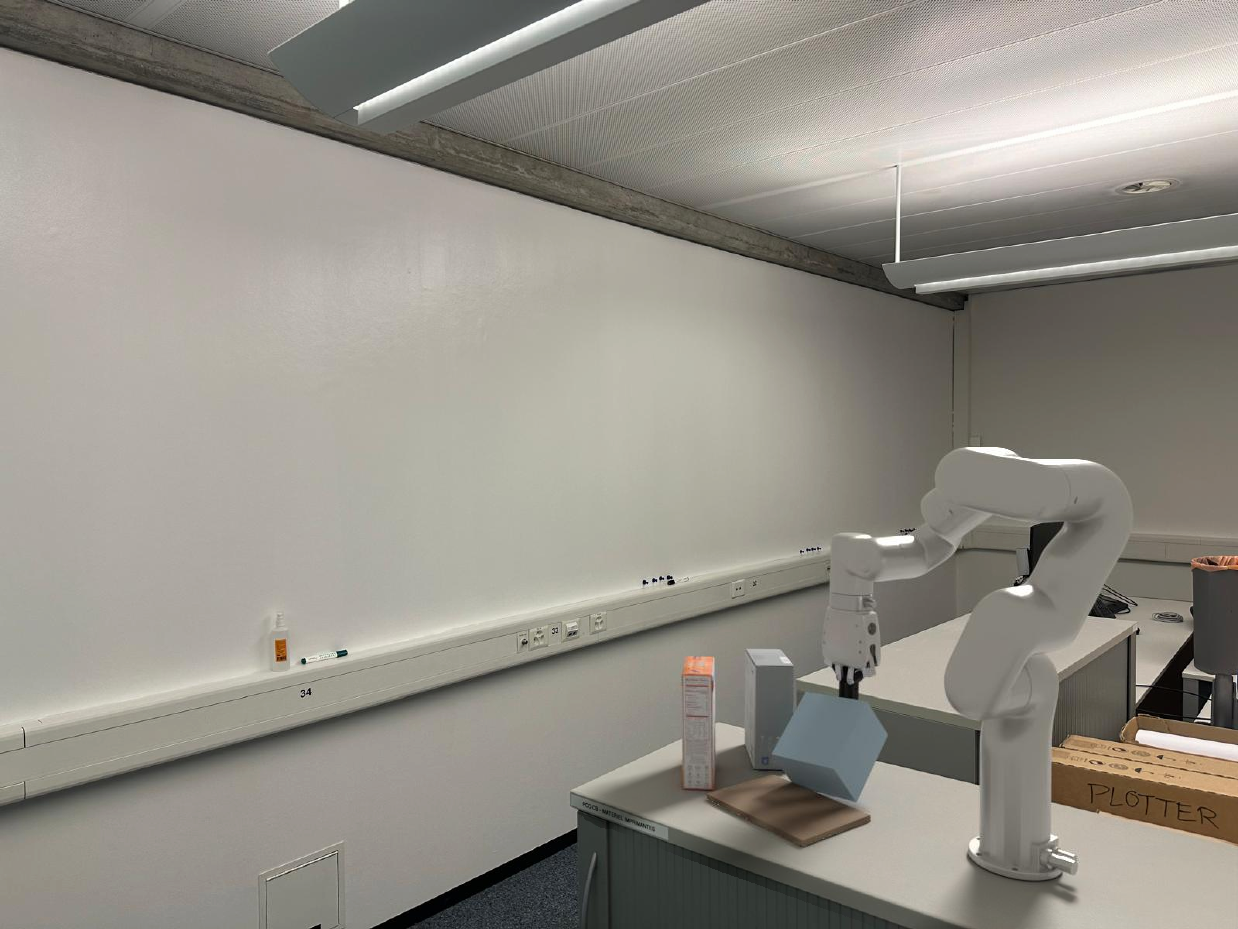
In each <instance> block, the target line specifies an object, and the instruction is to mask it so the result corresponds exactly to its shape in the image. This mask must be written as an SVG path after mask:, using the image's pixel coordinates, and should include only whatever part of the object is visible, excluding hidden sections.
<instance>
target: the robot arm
mask: <svg viewBox="0 0 1238 929" xmlns="http://www.w3.org/2000/svg"><path fill="white" fill-rule="evenodd" d="M934 484H935V487H934V488H932V489H930V490H929V491H928V492H927V493H926V494H925V495H924V496H923V497H922V499H921V501H920V512H921V516H922V518H923V520H924V521H925V522H923V524H920V526H918V527H917V528H915V529H914V530H913V531H911V532H910V533H908V534H906V535H889V536H888V535H887V536H886V535H885V536H879V537H878V536H877V537H872V536H871V535H869V534H865V533H860V532H840V533H835V534H834V535H833V536H832V537H831V540H830V561H829V562H830V564H829V568H830V569H829V600H828V601H829V604H828V606H827V608H826V611H825V616H824V623H823V629H822V640H821V649H822V650H821V651H822V656H823V663H824V664H825V665H826V666H827V667H829V668H831V669H832V671H833V672H834V673H835V679H836V681H838V697H842V698H848V699H854V700H859V696H860V695H859V693H860V690H859V689H860V683H861V682H863V680H864V679H865V678H873V677H876V676H877V671H876V668H877V667H878V666H880V665H881V659H882V657H881V655H882V654H881V653H882V652H881V647H882V646H881V644H882V643H881V633H880V632H881V631H880V623H879V618H878V613H877V611H876V612H875V611H874V610H873V609H875V608H876V607H877V605H878V603H877V602H878V601H877V600H875V599H874V583H877V582H878V583H880V582H882V583H883V582H887V581H889V582H890V581H896V580H908V579H914V578H917V577H918V578H919V577H921V576H924V575H926V574H927V573H929V572H930V571H932V570H933V569H935V568H936V567H938V566H940V565H941V564H942V563H944V562H945V561H947V560H949V558H951V557H952V556H953V555H954V553H955V552H956V551H957V549H958V547H959V546H960V544H961V541H962V539H963V537H964V536H965V535H966V534H968V533H970V532H971V531H972V530H973V529H975V528H976V527H977V526H979V525H981V524H982V523H983V522H985V521H986V520H987V519H989V518H991V517H992V516H998V517H1001V518H1005V519H1010V520H1015V521H1019V522H1023V523H1034V524H1035V523H1036V524H1041V523H1042V524H1043V523H1055V522H1056V523H1057V522H1059V523H1060V522H1063V525H1062V527H1061V529H1060V530H1059V531H1058V532H1057V533H1056V535H1055V536H1054V537H1053V538H1052V539H1051V540H1050V542H1049V543H1047V545H1046V547H1044V549H1043V551H1042V552H1041V554H1040V556H1039V559H1038V561H1037V563H1036V565H1035V567H1034V569H1033V571H1032V572H1031V574H1030V576H1029V577H1028V578H1027V579H1026V581H1025V582H1024V583H1023V584H1020V585H1018V586H1011V587H1010V586H1009V587H1005V588H1000V589H996V590H994V591H992V592H989V593H988V594H987V595H985V596H984V597H983V598H982V599H981V600H980V601H979V602H978V603H977V604H976V605H975V606H974V608H973V610H972V612H971V613H970V616H969V618H968V619H967V621H966V624H965V625H964V628H963V630H962V632H961V634H960V637H959V638H958V641H957V643H956V644H955V647H954V649H953V651H952V653H951V655H950V657H949V659H948V661H947V664H946V667H945V672H944V677H943V688H944V692H945V697H946V699H947V701H948V703H949V705H950V707H952V709H953V710H954V711H955V712H957V713H958V714H959V715H960V716H962V717H963V718H967V719H969V720H975V721H980V722H981V721H982V723H981V728H980V733H979V734H980V737H979V835H978V836H976V837H973V838H972V839H971V840H969V841H968V845H967V853H968V856H969V857H970V858H971V859H972V861H973V862H974V863H975V864H976V865H979V866H980V867H981V868H983V869H984V870H985V869H986V870H987V871H989V872H991V873H995V874H997V875H1000V876H1002V877H1003V876H1004V877H1006V878H1010V879H1011V878H1012V879H1016V880H1024V881H1046V880H1047V881H1048V880H1051V879H1054V878H1057V877H1058V876H1060V875H1061V874H1062V873H1065V874H1069V875H1071V876H1075V875H1076V874H1077V872H1078V868H1079V865H1078V856H1077V855H1076V854H1075V853H1071V852H1068V851H1064V850H1061V847H1059V837H1058V836H1056V835H1053V834H1052V759H1053V758H1052V746H1053V744H1052V743H1053V741H1052V740H1053V727H1054V726H1053V725H1054V719H1055V712H1056V709H1057V703H1058V698H1059V690H1060V680H1059V675H1058V674H1059V673H1058V671H1057V669H1056V666H1055V663H1054V662H1053V661H1052V659H1051V658H1050V657H1049V656H1048V655H1047V654H1048V653H1053V652H1057V651H1061V650H1063V649H1066V648H1067V647H1069V646H1070V645H1072V643H1073V642H1074V641H1075V640H1076V638H1077V637H1078V635H1079V633H1080V631H1081V629H1082V627H1083V625H1084V624H1085V622H1086V620H1087V618H1088V617H1089V614H1090V612H1091V610H1092V609H1093V607H1094V606H1095V605H1094V604H1096V601H1097V599H1098V597H1099V595H1100V593H1101V592H1102V590H1103V587H1104V585H1105V584H1106V581H1107V580H1108V577H1109V576H1110V574H1111V572H1112V571H1113V569H1114V567H1115V565H1116V564H1117V563H1118V561H1119V558H1121V555H1122V553H1123V551H1124V550H1125V548H1126V546H1127V544H1128V541H1129V539H1130V535H1131V532H1132V529H1133V523H1134V509H1133V502H1132V500H1131V496H1130V493H1129V491H1128V489H1127V487H1126V485H1125V483H1124V482H1123V481H1122V479H1121V478H1120V477H1119V476H1118V475H1117V474H1116V473H1115V472H1114V471H1112V470H1111V469H1109V468H1108V467H1106V466H1104V465H1102V464H1100V463H1097V462H1095V461H1090V460H1084V459H1032V458H1031V459H1030V458H1023V457H1021V456H1020V455H1018V454H1017V453H1016V452H1014V451H1012V450H1009V449H1006V448H1002V447H983V446H982V447H974V446H973V447H972V446H971V447H959V448H956V449H953V450H952V451H950V452H948V453H947V454H946V455H944V457H942V458H941V460H940V461H939V463H938V464H937V467H936V469H935V472H934Z"/></svg>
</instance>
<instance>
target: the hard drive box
mask: <svg viewBox="0 0 1238 929" xmlns="http://www.w3.org/2000/svg"><path fill="white" fill-rule="evenodd" d="M744 654H745V655H744V656H745V657H744V662H745V663H744V744H745V748H746V751H747V753H748V754H747V755H748V756H749V758H750V762H751V765H752V767H753V770H755V769H756V770H782V768H781V767H780V765H779V764H778V763H777V761H776V760H775V758H774V757H773V756H772V752H773V751H774V749H775V747H776V745H777V743H778V741H779V740H780V738H781V736H782V734H783V732H784V731H785V729H786V727H787V725H788V723H789V721H790V720H791V718H792V716H793V714H794V703H795V702H794V700H795V698H794V697H795V696H794V693H795V692H794V691H795V690H794V689H795V688H794V686H795V683H794V681H795V678H794V677H795V676H794V675H795V665H794V664H793V663H792V661H790V659H789V658H788V657H787V656H786V655H785V653H784V652H783V651H782V650H781V649H780V648H779V649H777V648H745V650H744ZM782 771H783V770H782Z"/></svg>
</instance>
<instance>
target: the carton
mask: <svg viewBox="0 0 1238 929" xmlns="http://www.w3.org/2000/svg"><path fill="white" fill-rule="evenodd" d="M888 736H889V734H888V732H887V731H886V729H885V728H884V726H883V724H882V723H881V721H880V720H879V718H878V716H877V714H876V713H875V711H874V709H873V708H872V707H871V705H870V704H869V702H868V701H865V700H859V699H858V700H854V699H848V698H842V697H839V696H835V695H828V694H822V693H816V692H809V691H805V693H804V694H803V696H802V698H801V700H800V702H799V703H798V705H797V708H796V709H795V711H793V716H792V718H791V720H790V721H789V723H788V725H787V727H786V729H785V731H784V732H783V734H782V736H781V738H780V740H779V741H778V743H777V745H776V747H775V749H774V751H773V752H772V756H773V757H774V758H775V760H776V761H777V763H778V764H779V765H780V767H781V768H782V772H784V774H785V775H786V777H787V778H788V780H789V781H790V782H793V783H795V784H798V785H800V786H802V787H805V788H807V789H809V790H812V791H814V792H817V793H819V794H822V795H825V796H830V797H831V796H832V797H834V798H839V799H841V800H846V801H849V802H853V803H858V801H859V798H860V796H861V794H862V792H863V789H864V787H865V785H866V783H867V781H868V779H869V777H870V774H871V773H872V770H873V769H874V766H875V764H876V762H877V760H878V757H879V756H880V754H881V751H882V749H883V747H884V746H885V742H886V741H887V739H888Z"/></svg>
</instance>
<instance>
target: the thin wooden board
mask: <svg viewBox="0 0 1238 929" xmlns="http://www.w3.org/2000/svg"><path fill="white" fill-rule="evenodd" d="M707 799H708V800H707ZM706 800H707V801H709V802H711V801H713V802H714V803H713V802H712V803H713V804H715V803H716V804H715V805H717V804H719V805H720V806H719V805H718V806H719V807H721V806H722V807H721V808H723V807H724V808H723V809H725V808H727V809H728V810H727V809H726V810H727V811H729V810H730V812H731V811H733V812H734V813H733V812H732V813H733V814H735V813H736V815H737V814H739V815H740V816H739V815H738V816H739V817H741V816H742V817H741V818H743V817H744V818H743V819H745V818H747V819H748V820H747V819H746V820H747V821H749V820H750V821H749V822H751V821H753V822H754V824H755V825H758V826H759V825H760V827H761V826H762V827H761V828H763V827H764V829H765V828H767V829H768V830H767V829H766V830H767V831H769V830H770V832H771V831H772V833H773V832H774V834H776V835H778V836H780V835H781V836H780V837H782V838H784V839H786V838H787V839H786V840H788V841H790V842H791V843H794V842H795V843H794V844H795V845H798V846H800V845H801V847H802V848H805V847H806V846H805V845H807V846H810V845H812V844H814V843H813V842H815V843H817V842H816V841H818V842H820V841H821V840H820V839H823V838H825V839H827V838H826V837H828V838H830V837H829V836H830V835H833V836H835V835H834V834H836V833H838V834H840V833H839V832H841V833H843V831H844V832H846V831H848V830H847V829H849V828H851V829H853V827H854V828H856V827H859V826H861V825H864V824H866V823H869V822H871V821H872V820H871V814H869V813H868V812H864V811H862V810H860V809H858V808H855V807H852V806H850V805H848V804H845V803H842V802H841V801H838V800H836V799H833V798H831V797H829V796H827V795H825V794H822V793H819V792H815V791H812V790H809V789H807V788H805V787H802V786H800V785H798V784H795V783H793V782H791V781H790V780H789V779H788V780H787V779H785V778H783V777H781V776H778V775H776V774H773V773H771V774H768V775H765V776H761V777H757V778H754V779H750V780H748V781H745V782H741V783H737V784H734V785H730V786H728V787H725V788H721V789H718V790H715V791H714V790H713V791H711V792H708V793H706ZM753 822H752V823H753ZM858 825H859V826H858ZM845 830H846V831H845ZM849 830H850V829H849ZM836 835H837V834H836ZM819 840H820V841H819ZM823 840H824V839H823ZM809 844H810V845H809ZM804 846H805V847H804Z"/></svg>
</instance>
